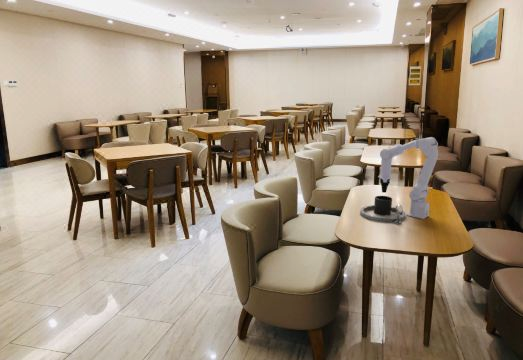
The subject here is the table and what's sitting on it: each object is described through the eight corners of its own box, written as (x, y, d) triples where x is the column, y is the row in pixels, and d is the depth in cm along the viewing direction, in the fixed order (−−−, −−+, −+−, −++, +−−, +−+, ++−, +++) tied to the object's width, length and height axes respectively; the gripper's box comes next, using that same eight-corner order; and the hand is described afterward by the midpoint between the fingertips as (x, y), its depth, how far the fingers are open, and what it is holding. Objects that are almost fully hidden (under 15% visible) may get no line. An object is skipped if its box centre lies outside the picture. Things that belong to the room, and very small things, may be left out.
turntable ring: (412, 214, 230) (413, 211, 230) (392, 225, 213) (393, 221, 213) (373, 205, 247) (373, 202, 246) (352, 214, 230) (352, 211, 229)
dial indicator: (402, 224, 215) (404, 206, 213) (397, 225, 214) (399, 206, 212) (397, 221, 220) (398, 203, 217) (392, 222, 219) (393, 203, 216)
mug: (392, 210, 238) (393, 195, 236) (389, 216, 228) (391, 201, 225) (375, 208, 242) (376, 193, 240) (372, 214, 231) (373, 199, 229)
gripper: (379, 166, 248) (377, 187, 251) (378, 171, 235) (376, 193, 238) (391, 167, 246) (389, 188, 250) (391, 172, 233) (389, 194, 236)
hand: (384, 191), depth 244 cm, fingers open, 4 cm apart
